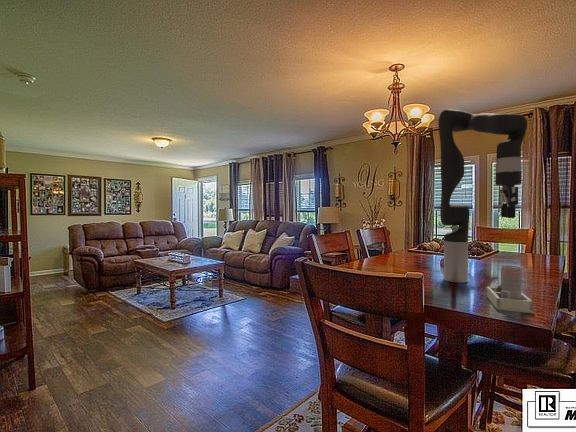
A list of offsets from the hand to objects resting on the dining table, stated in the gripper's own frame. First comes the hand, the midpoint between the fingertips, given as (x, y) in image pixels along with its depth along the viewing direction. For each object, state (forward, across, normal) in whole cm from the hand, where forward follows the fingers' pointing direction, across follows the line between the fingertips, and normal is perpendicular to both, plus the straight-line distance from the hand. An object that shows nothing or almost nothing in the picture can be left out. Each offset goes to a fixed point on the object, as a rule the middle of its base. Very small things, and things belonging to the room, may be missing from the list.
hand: (507, 217), depth 109 cm
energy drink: (+28, +14, -2) cm, 31 cm away
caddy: (+28, +10, -2) cm, 30 cm away
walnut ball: (+27, +6, -2) cm, 28 cm away
